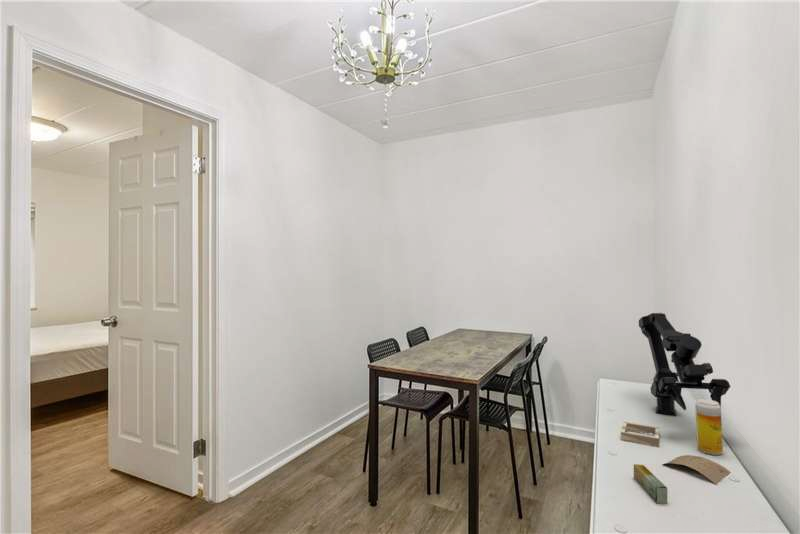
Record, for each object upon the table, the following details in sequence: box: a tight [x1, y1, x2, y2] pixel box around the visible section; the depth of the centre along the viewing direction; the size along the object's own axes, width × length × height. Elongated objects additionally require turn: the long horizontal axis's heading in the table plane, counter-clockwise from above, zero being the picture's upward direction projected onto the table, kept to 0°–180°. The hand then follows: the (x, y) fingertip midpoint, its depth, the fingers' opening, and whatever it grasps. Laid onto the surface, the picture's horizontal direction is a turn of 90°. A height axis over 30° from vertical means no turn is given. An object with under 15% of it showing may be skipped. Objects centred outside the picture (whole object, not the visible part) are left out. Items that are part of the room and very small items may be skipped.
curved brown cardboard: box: [665, 454, 732, 485], centre depth 109 cm, size 14×10×3 cm
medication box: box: [633, 463, 669, 505], centre depth 100 cm, size 12×3×4 cm, turn 173°
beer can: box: [694, 398, 724, 456], centre depth 119 cm, size 6×6×15 cm
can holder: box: [620, 421, 660, 447], centre depth 130 cm, size 10×10×2 cm
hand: (702, 410), depth 123 cm, fingers open, 9 cm apart
